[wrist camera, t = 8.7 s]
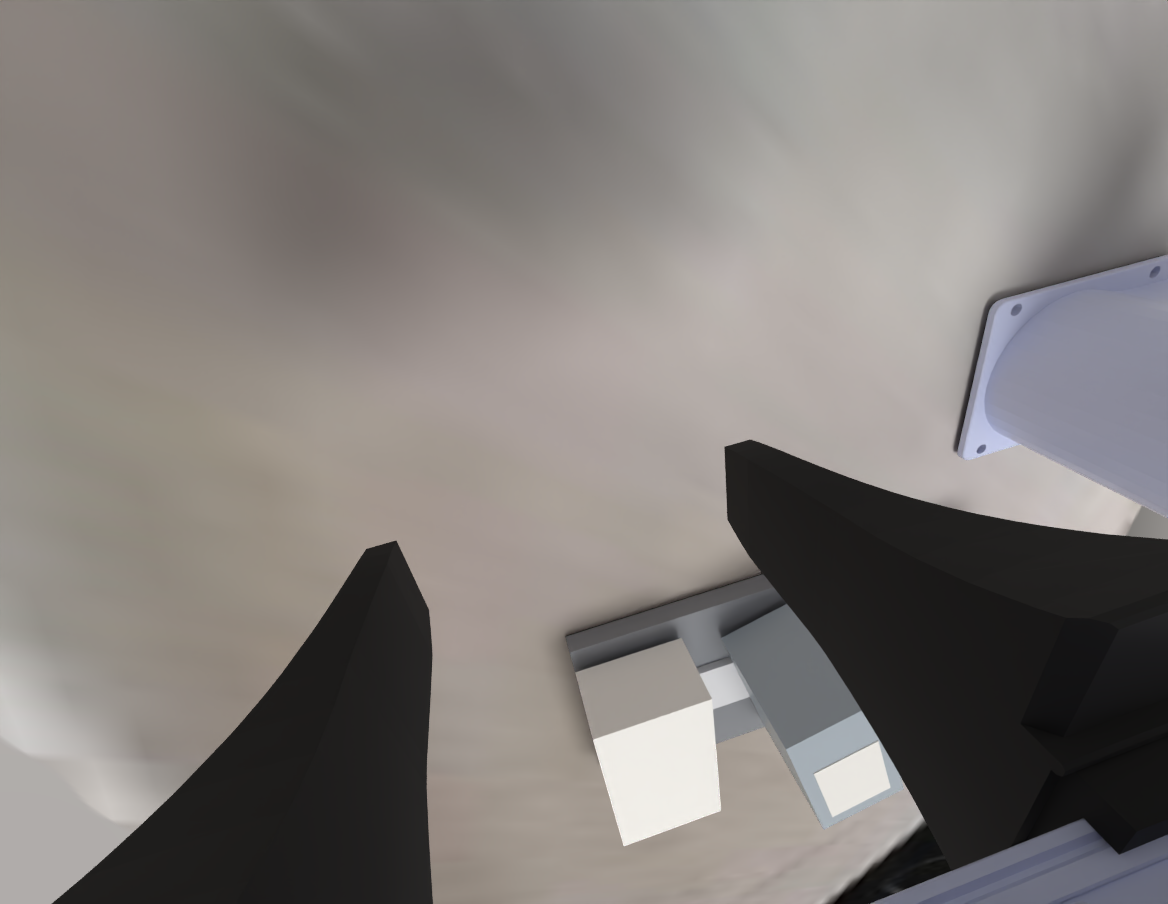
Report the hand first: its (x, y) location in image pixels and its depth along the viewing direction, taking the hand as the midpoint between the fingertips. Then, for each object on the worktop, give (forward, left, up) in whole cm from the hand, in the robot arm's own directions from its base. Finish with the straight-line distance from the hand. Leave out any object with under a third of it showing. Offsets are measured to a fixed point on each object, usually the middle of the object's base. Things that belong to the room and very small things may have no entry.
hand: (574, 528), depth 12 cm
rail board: (-10, +20, -9) cm, 24 cm away
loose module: (-10, +20, -8) cm, 23 cm away
